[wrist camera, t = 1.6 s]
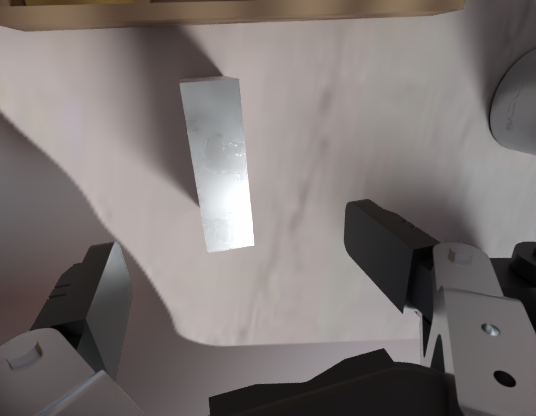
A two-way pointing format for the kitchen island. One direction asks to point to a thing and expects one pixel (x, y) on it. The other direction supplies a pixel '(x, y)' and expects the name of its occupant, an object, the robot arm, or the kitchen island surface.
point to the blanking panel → (218, 159)
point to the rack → (201, 12)
